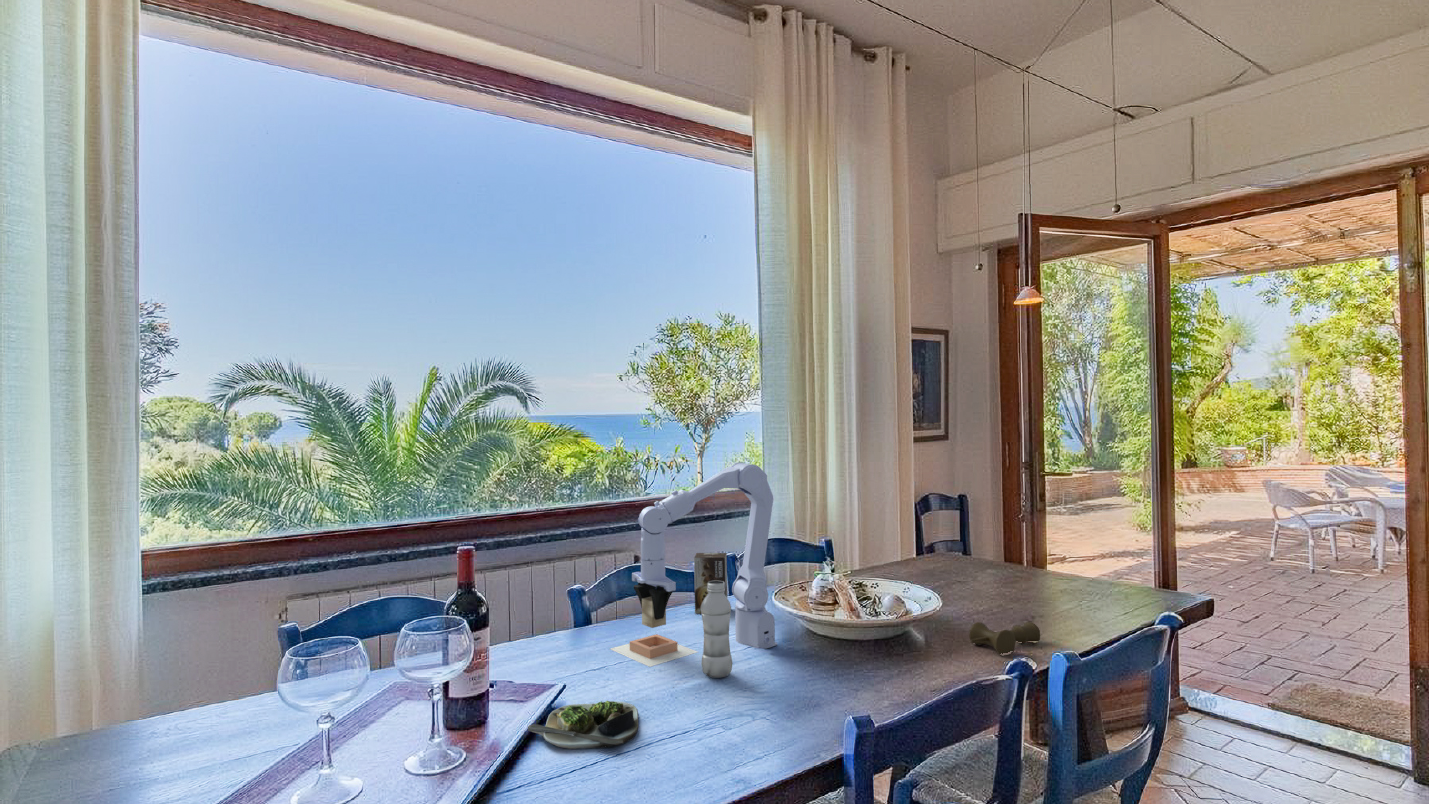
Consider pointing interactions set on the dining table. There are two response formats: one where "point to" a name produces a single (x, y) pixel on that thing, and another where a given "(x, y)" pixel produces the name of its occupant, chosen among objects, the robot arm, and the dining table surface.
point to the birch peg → (650, 614)
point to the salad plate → (590, 725)
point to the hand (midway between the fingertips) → (653, 616)
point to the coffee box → (708, 574)
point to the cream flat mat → (656, 660)
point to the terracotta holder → (663, 646)
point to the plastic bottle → (716, 631)
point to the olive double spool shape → (1004, 636)
